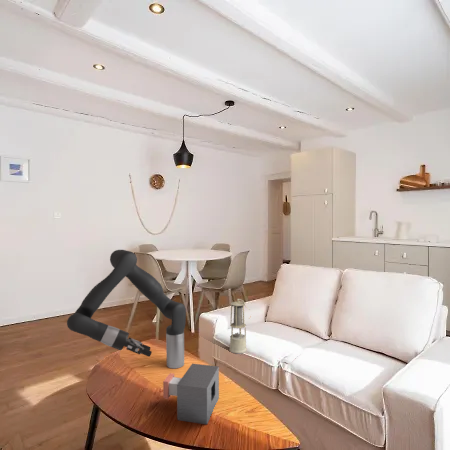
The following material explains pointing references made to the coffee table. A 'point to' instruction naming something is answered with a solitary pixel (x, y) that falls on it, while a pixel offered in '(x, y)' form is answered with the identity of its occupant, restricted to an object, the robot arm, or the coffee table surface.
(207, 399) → the block
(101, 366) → the coffee table surface
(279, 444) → the coffee table surface
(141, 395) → the coffee table surface
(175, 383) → the plug
